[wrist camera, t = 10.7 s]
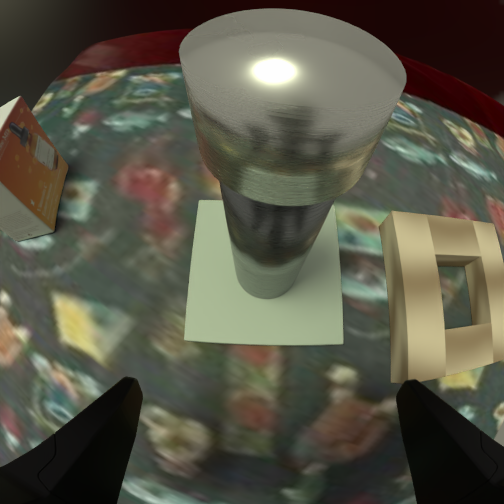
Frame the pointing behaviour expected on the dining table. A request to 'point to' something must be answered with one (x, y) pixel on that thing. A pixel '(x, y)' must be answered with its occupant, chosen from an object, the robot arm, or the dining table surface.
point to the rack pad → (255, 309)
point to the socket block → (429, 294)
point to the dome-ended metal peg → (285, 127)
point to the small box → (27, 174)
